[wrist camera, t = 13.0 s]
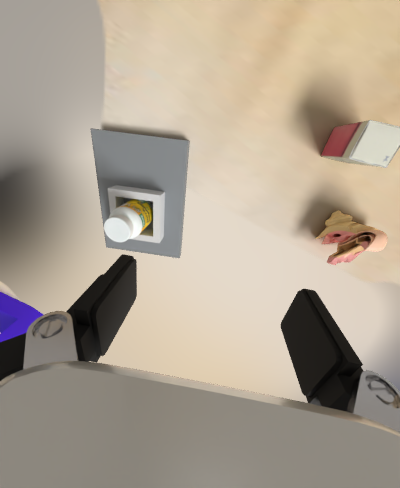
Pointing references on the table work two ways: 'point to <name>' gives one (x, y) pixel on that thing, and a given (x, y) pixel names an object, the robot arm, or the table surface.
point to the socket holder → (143, 185)
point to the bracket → (15, 317)
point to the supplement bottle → (128, 220)
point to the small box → (363, 143)
